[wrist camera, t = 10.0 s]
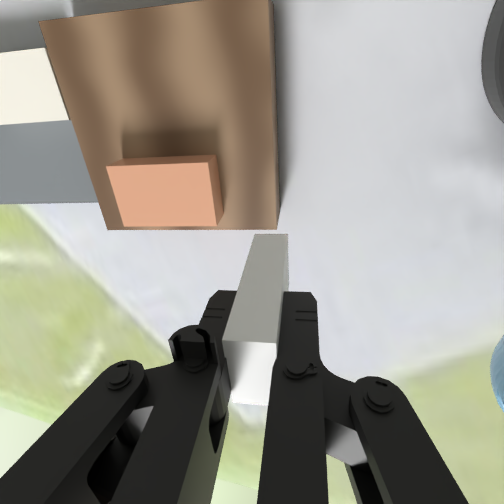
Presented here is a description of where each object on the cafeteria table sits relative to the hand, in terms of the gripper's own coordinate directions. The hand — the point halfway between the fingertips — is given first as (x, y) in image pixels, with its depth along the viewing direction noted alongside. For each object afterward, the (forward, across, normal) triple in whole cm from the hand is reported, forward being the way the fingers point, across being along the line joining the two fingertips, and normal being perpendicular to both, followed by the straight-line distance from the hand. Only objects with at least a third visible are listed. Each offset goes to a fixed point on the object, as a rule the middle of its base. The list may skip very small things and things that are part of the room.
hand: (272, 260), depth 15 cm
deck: (+16, +9, -4) cm, 18 cm away
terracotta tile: (+12, +9, 0) cm, 15 cm away
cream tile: (+15, +22, -8) cm, 28 cm away
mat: (+16, +24, -4) cm, 29 cm away
